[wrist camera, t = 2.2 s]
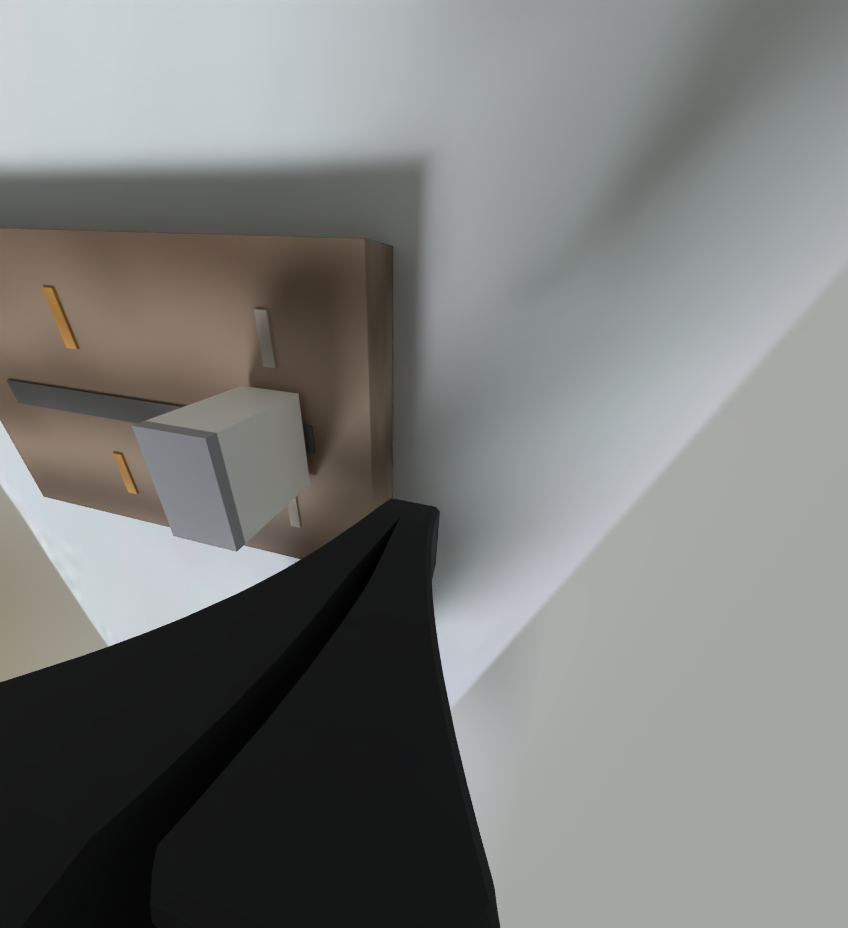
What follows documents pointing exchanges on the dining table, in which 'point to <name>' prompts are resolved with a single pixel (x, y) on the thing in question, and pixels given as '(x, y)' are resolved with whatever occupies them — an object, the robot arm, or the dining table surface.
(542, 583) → the dining table surface
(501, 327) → the dining table surface
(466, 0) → the dining table surface
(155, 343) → the slider board
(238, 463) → the fader tab
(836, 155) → the dining table surface
